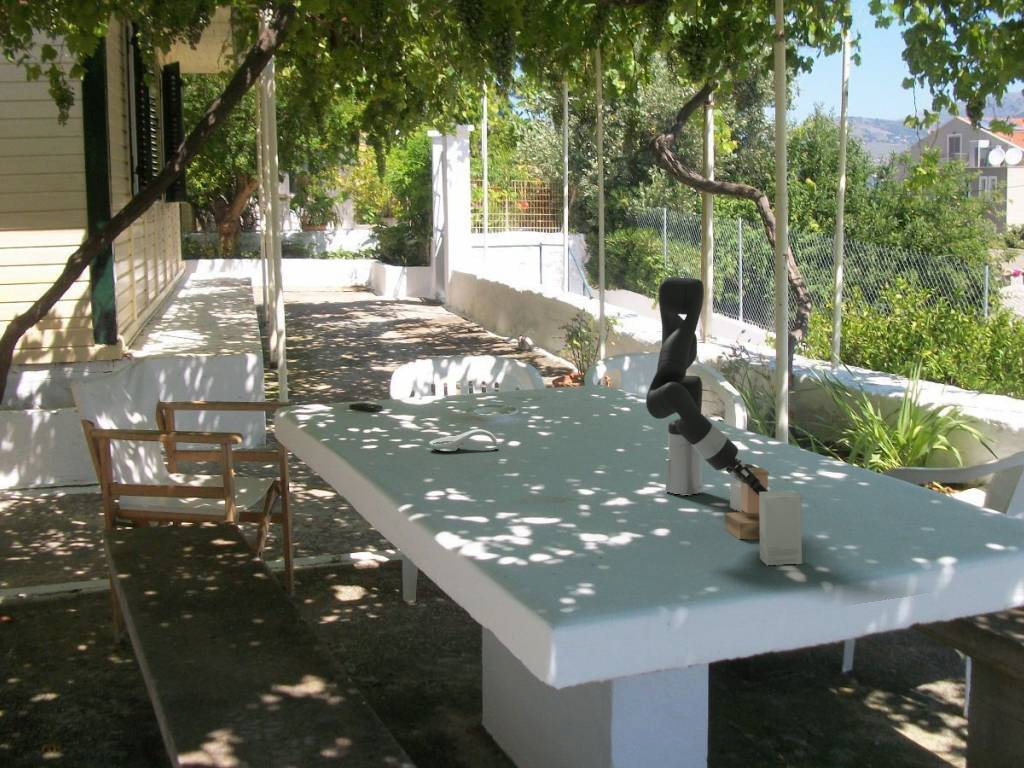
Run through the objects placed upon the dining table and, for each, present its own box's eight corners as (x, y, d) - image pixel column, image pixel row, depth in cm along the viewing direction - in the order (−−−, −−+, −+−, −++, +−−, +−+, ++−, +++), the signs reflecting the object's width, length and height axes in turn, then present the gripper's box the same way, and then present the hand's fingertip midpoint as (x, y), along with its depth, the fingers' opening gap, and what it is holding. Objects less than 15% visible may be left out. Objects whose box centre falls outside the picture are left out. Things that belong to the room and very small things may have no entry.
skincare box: (794, 557, 268) (795, 489, 266) (803, 565, 261) (803, 495, 259) (757, 558, 267) (758, 490, 265) (765, 566, 261) (765, 496, 259)
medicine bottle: (741, 513, 310) (741, 468, 309) (729, 507, 317) (729, 463, 316) (766, 511, 312) (766, 466, 311) (754, 505, 319) (754, 461, 318)
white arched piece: (429, 454, 405) (428, 434, 404) (429, 448, 417) (429, 428, 416) (498, 452, 406) (498, 432, 405) (497, 446, 418) (496, 426, 417)
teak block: (740, 539, 284) (740, 523, 283) (724, 528, 295) (725, 513, 294) (784, 537, 285) (784, 520, 285) (767, 526, 296) (767, 510, 296)
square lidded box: (747, 513, 286) (747, 472, 285) (739, 508, 292) (739, 468, 290) (768, 512, 287) (768, 471, 286) (760, 507, 292) (760, 467, 291)
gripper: (734, 440, 279) (783, 488, 282) (715, 430, 293) (761, 476, 296) (712, 463, 279) (761, 511, 282) (694, 452, 293) (741, 498, 296)
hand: (761, 493), depth 289 cm, fingers closed on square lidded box, 5 cm apart
